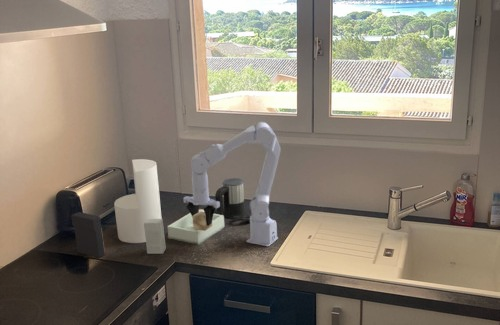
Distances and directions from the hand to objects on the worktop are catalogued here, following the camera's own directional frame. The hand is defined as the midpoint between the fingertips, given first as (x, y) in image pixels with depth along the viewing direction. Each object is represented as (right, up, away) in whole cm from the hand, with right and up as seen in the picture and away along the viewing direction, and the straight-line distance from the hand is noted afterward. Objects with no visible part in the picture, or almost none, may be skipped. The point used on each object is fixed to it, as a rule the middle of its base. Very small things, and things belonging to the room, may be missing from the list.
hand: (202, 223), depth 197 cm
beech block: (0, -1, 0) cm, 2 cm away
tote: (-3, -5, +13) cm, 14 cm away
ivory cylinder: (-2, -4, +15) cm, 16 cm away
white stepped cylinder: (-26, -6, +15) cm, 30 cm away
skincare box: (-17, -10, -1) cm, 20 cm away
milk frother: (+13, -1, +26) cm, 29 cm away
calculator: (-40, -11, -1) cm, 42 cm away
